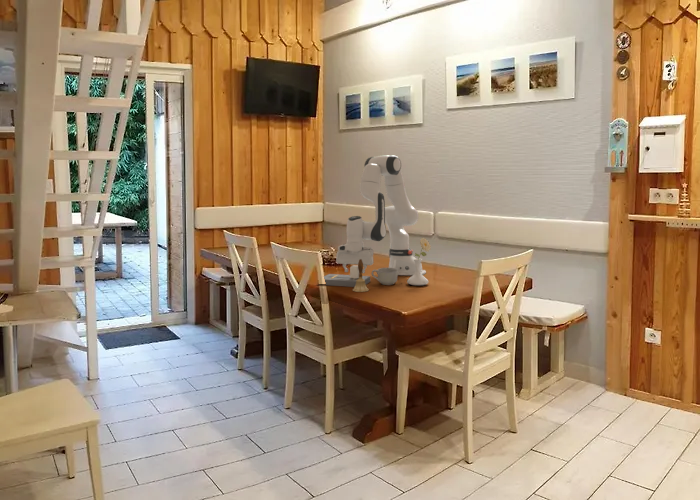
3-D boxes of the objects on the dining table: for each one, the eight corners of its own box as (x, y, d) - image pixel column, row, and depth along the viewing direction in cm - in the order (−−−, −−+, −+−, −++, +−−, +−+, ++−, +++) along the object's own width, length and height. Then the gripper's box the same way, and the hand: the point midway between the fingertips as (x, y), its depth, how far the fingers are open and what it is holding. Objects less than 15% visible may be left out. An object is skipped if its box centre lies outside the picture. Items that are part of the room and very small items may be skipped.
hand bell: (350, 289, 314) (349, 258, 312) (365, 288, 317) (365, 257, 315) (356, 292, 307) (355, 261, 304) (371, 291, 309) (371, 260, 307)
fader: (360, 276, 330) (360, 265, 329) (357, 278, 325) (357, 267, 324) (353, 276, 331) (353, 265, 330) (350, 278, 326) (350, 266, 325)
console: (370, 281, 334) (370, 276, 334) (361, 287, 319) (361, 281, 319) (329, 279, 342) (329, 273, 341) (318, 284, 327) (318, 278, 326)
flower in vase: (414, 287, 317) (415, 240, 314) (402, 284, 327) (403, 237, 324) (435, 285, 323) (436, 238, 320) (423, 281, 333) (423, 236, 330)
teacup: (399, 282, 331) (400, 268, 330) (394, 286, 321) (394, 271, 320) (375, 281, 336) (375, 266, 334) (369, 285, 325) (369, 270, 324)
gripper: (375, 247, 325) (375, 272, 327) (339, 245, 332) (339, 270, 334) (371, 248, 319) (371, 274, 321) (335, 246, 326) (335, 272, 328)
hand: (354, 272), depth 328 cm, fingers open, 8 cm apart
